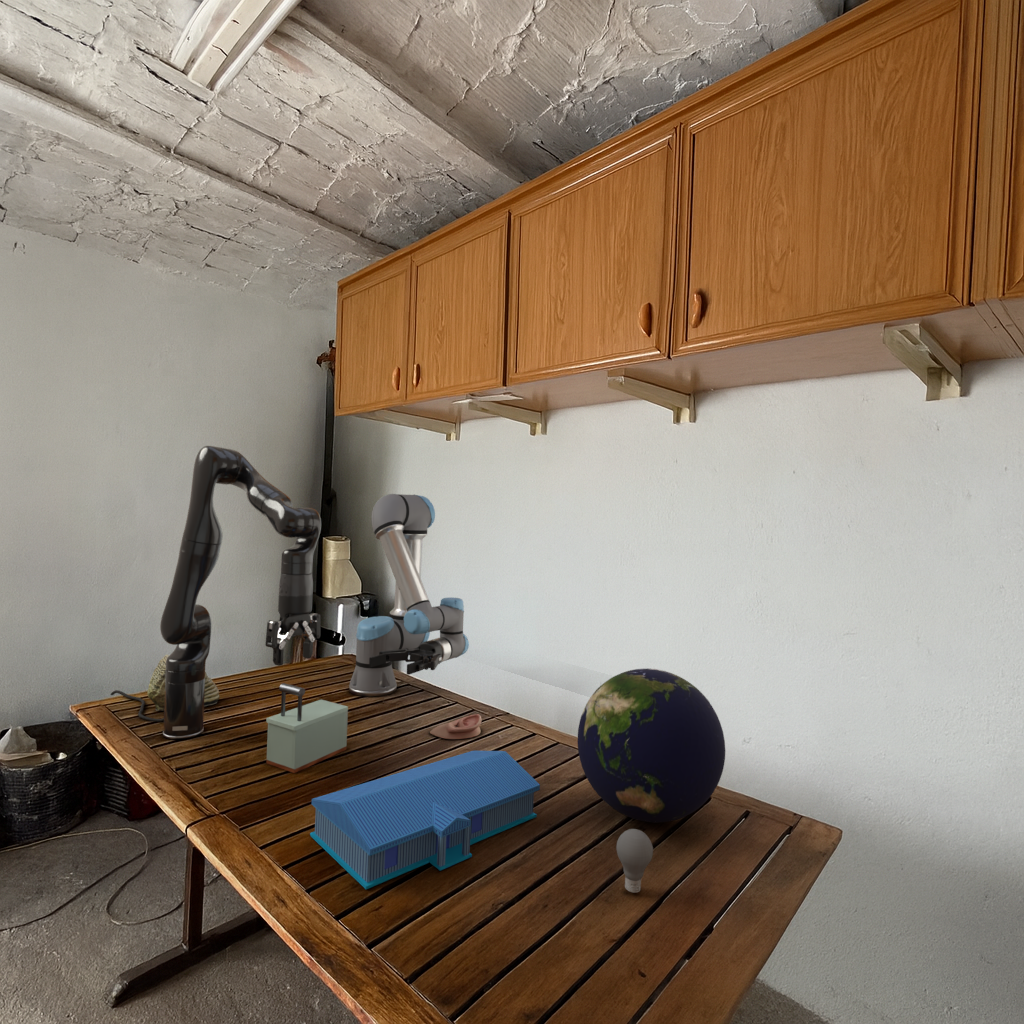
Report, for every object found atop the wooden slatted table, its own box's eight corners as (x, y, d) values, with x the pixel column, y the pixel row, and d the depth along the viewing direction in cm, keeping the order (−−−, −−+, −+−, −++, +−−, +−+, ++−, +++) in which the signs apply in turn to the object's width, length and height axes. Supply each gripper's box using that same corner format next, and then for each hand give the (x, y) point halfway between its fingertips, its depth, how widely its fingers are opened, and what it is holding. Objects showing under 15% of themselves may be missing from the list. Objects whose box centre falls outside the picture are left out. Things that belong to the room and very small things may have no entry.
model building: (376, 899, 100) (378, 836, 100) (308, 834, 119) (310, 781, 118) (548, 822, 127) (550, 773, 127) (472, 779, 145) (474, 735, 145)
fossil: (144, 707, 182) (145, 655, 182) (212, 696, 194) (213, 647, 194) (151, 716, 175) (153, 662, 175) (221, 703, 188) (223, 653, 188)
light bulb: (610, 879, 108) (613, 822, 108) (644, 879, 109) (647, 822, 109) (619, 902, 102) (622, 840, 102) (655, 901, 103) (658, 840, 103)
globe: (555, 830, 124) (562, 678, 123) (594, 772, 152) (600, 647, 151) (715, 870, 113) (723, 702, 112) (726, 799, 140) (732, 664, 140)
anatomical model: (426, 721, 169) (440, 708, 180) (425, 736, 169) (439, 722, 181) (474, 727, 167) (485, 713, 178) (473, 742, 167) (484, 727, 178)
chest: (294, 773, 144) (296, 730, 144) (266, 763, 149) (267, 721, 149) (346, 749, 159) (348, 710, 159) (319, 741, 164) (320, 703, 163)
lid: (294, 730, 144) (295, 692, 144) (266, 722, 148) (267, 685, 148) (348, 710, 159) (349, 675, 159) (320, 703, 163) (322, 669, 163)
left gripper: (282, 597, 140) (279, 670, 141) (329, 591, 153) (327, 657, 153) (259, 593, 144) (256, 664, 144) (307, 587, 156) (305, 653, 157)
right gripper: (466, 670, 191) (424, 686, 172) (401, 658, 203) (355, 672, 185) (467, 645, 191) (424, 658, 172) (402, 635, 203) (355, 646, 185)
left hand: (293, 661), depth 149 cm, fingers open, 8 cm apart
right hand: (388, 666), depth 178 cm, fingers open, 13 cm apart
